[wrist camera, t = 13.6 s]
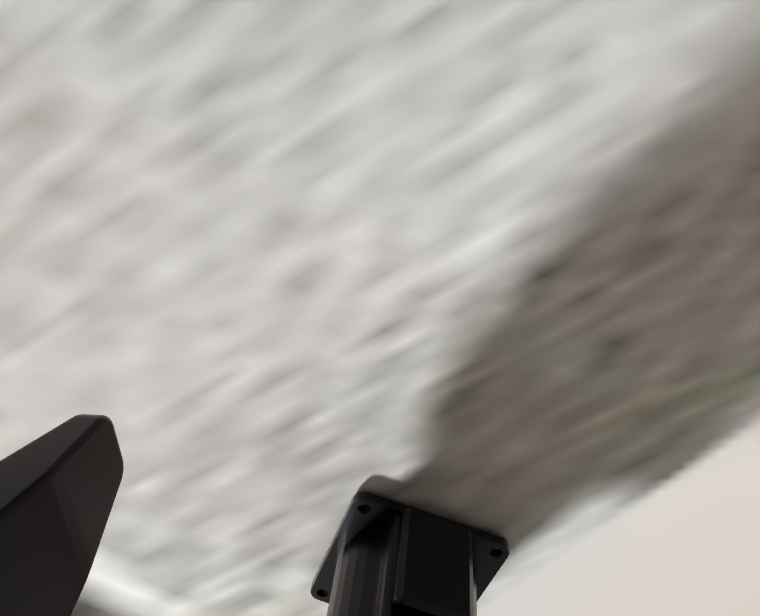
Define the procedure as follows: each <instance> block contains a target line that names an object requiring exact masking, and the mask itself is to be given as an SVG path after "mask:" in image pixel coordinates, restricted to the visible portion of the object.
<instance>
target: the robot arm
mask: <svg viewBox="0 0 760 616" xmlns="http://www.w3.org/2000/svg"><path fill="white" fill-rule="evenodd" d="M122 475H123V459H122V455H121V451H120V448H119V444H118V440H117V437H116V433H115V430H114V426H113V423H112V421H111V420H110V418H108V417H107V416H104V415H87V414H82V415H76V416H75V417H73V418H71V419H69V420H68V421H66V422H64V423H63V424H61V425H59V426H58V427H56V428H54V429H53V430H51V431H49V432H48V433H46V434H44V435H43V436H41V437H39V438H38V439H36V440H34V441H33V442H31V443H29V444H28V445H26V446H24V447H23V448H21V449H19V450H18V451H16V452H14V453H13V454H11V455H9V456H8V457H6V458H5V459H3V460H1V461H0V616H70V615H71V613H72V611H73V609H74V607H75V604H76V602H77V600H78V598H79V596H80V594H81V591H82V589H83V587H84V584H85V582H86V580H87V577H88V575H89V572H90V569H91V567H92V564H93V561H94V558H95V555H96V552H97V549H98V547H99V544H100V541H101V538H102V535H103V532H104V529H105V526H106V523H107V520H108V517H109V515H110V512H111V509H112V506H113V503H114V500H115V497H116V494H117V491H118V488H119V485H120V482H121V479H122ZM361 504H366V505H368V506H363V505H361ZM494 548H498V549H494ZM508 555H509V545H508V542H507V540H506V539H504V538H502V537H500V536H497V535H494V534H491V533H488V532H485V531H482V530H479V529H476V528H473V527H470V526H467V525H464V524H461V523H458V522H455V521H452V520H449V519H446V518H443V517H440V516H438V515H435V514H432V513H429V512H426V511H423V510H420V509H417V508H414V507H411V506H408V505H405V504H402V503H399V502H396V501H393V500H390V499H387V498H384V497H381V496H378V495H375V494H372V493H368V492H360V493H357V494H356V495H355V496H354V497H353V499H352V501H351V503H350V505H349V507H348V509H347V512H346V514H345V516H344V518H343V520H342V522H341V524H340V526H339V528H338V530H337V532H336V534H335V537H334V539H333V541H332V543H331V545H330V547H329V549H328V551H327V553H326V555H325V557H324V559H323V562H322V564H321V566H320V568H319V570H318V572H317V574H316V576H315V578H314V580H313V583H312V588H311V594H312V596H313V597H314V598H316V599H318V600H320V601H323V602H327V603H329V606H328V612H327V616H477V601H478V599H479V598H480V596H481V595H482V593H483V592H484V590H485V589H486V588H487V586H488V585H489V583H490V582H491V580H492V579H493V577H494V576H495V575H496V573H497V572H498V570H499V569H500V567H501V566H502V564H503V563H504V562H505V560H506V559H507V557H508Z"/></svg>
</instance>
